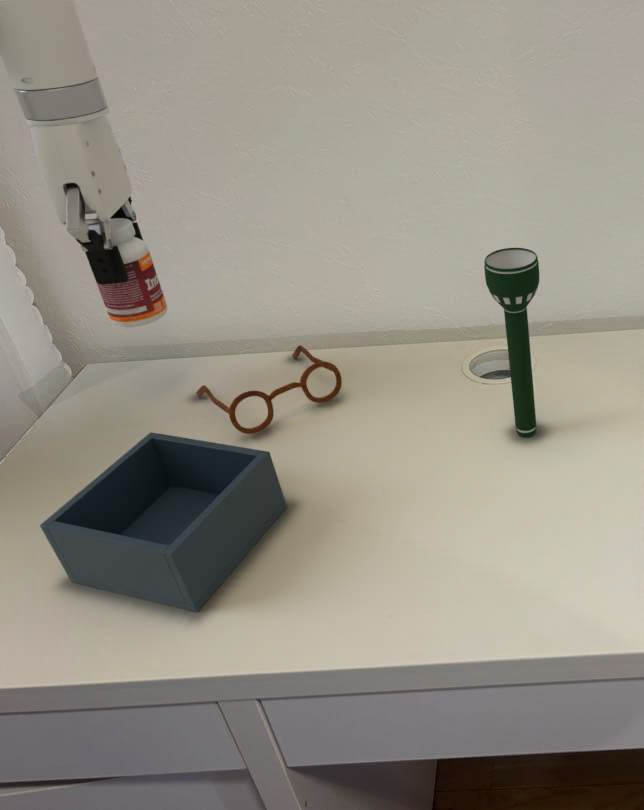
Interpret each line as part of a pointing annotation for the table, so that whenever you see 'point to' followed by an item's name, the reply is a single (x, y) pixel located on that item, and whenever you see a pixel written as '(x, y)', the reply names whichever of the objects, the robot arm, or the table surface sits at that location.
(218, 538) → the bin
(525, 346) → the flashlight
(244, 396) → the glasses
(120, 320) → the pill bottle
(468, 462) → the table surface
